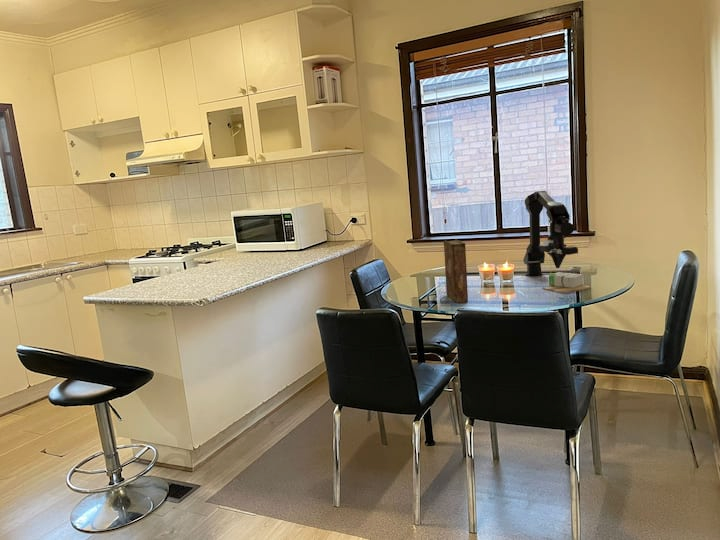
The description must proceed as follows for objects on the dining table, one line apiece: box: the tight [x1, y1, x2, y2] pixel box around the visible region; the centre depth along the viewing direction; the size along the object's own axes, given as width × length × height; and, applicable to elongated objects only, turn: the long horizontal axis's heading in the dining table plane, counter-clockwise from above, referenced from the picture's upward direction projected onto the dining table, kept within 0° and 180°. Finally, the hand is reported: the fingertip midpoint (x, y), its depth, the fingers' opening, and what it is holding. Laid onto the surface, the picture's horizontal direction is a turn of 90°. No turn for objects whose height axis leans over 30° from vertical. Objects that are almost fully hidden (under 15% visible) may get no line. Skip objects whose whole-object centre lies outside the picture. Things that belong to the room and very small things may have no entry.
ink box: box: [548, 271, 584, 288], centre depth 239 cm, size 9×5×12 cm
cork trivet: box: [542, 285, 592, 295], centre depth 236 cm, size 13×15×1 cm
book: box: [443, 239, 469, 304], centre depth 232 cm, size 16×6×25 cm, turn 5°
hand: (557, 268), depth 239 cm, fingers closed
